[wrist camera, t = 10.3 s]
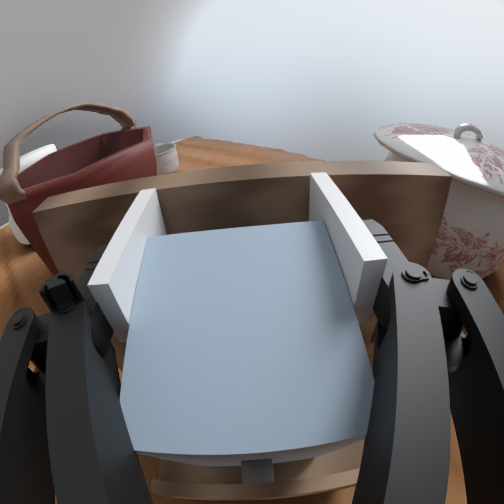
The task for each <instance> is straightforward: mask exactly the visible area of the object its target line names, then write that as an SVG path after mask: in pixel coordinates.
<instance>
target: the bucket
mask: <svg viewBox="0 0 504 504" xmlns="http://www.w3.org/2000/svg"><path fill="white" fill-rule="evenodd" d="M71 110H84V111H92V112H97V113H100V114H105V115H110V116H111V117H112V118H114V119H115V120H116V121H117V122H119V123H120V125H121V126H122V129H121V130H120V131H114V132H108V133H103V134H100V135H97V136H94V137H91V138H88V139H86V140H83V141H81V142H78V143H75V144H72V145H70V146H67V147H65V148H62V149H60V150H57V151H55V152H53V153H50V154H48V155H46V156H45V157H43V158H42V159H40V160H38V161H37V162H35V163H34V164H32V165H31V166H29V167H28V168H26V169H25V170H23V171H22V172H20V173H19V174H18V172H19V169H20V142H21V141H22V140H23V139H24V138H25V137H27V136H28V135H29V134H30V133H31V132H33V131H34V130H35V129H36V128H38V127H39V126H40V125H42V124H43V123H44V122H46V121H48V120H49V119H51V118H53V117H54V116H56V115H58V114H60V113H64V112H67V111H71ZM151 176H157V163H156V157H155V151H154V145H153V140H152V135H151V129H150V126H149V127H142V128H136V120H135V119H134V118H133V117H132V116H131V115H130V114H129V113H127V112H126V111H125V110H124V109H122V108H117V107H113V106H110V105H106V104H101V103H94V102H84V103H80V104H76V105H72V106H69V107H66V108H64V109H61V110H59V111H56V112H54V113H51V114H49V115H46V116H44V117H43V118H41V119H39V120H38V121H36V122H35V123H33V124H31V125H29V126H28V127H27V128H25V129H24V130H23V131H21V132H20V133H18V134H17V135H16V136H15V137H14V138H13V139H12V140H11V141H10V142H8V143H7V144H6V145H5V146H4V152H3V171H2V173H1V175H0V199H1V200H2V201H4V202H5V203H6V204H7V205H8V207H9V209H10V212H11V214H12V217H13V219H14V221H15V223H16V224H17V226H18V227H19V229H20V230H21V232H22V233H23V235H24V236H25V237H26V239H27V240H28V242H29V243H30V244H31V246H32V247H33V248H34V250H35V251H36V253H37V254H38V255H39V257H40V258H41V259H42V260H43V262H44V263H45V264H46V266H47V267H48V268H49V269H50V271H51V272H52V273H53V274H54V275H56V274H58V273H59V271H58V269H57V267H56V265H55V263H54V261H53V259H52V257H51V255H50V253H49V251H48V249H47V247H46V245H45V242H44V240H43V238H42V236H41V233H40V231H39V229H38V226H37V224H36V222H35V219H34V217H33V214H32V212H33V211H34V210H35V209H36V208H37V207H38V206H39V205H40V204H41V203H42V202H43V201H44V200H45V199H46V198H48V197H50V196H55V195H59V194H63V193H67V192H72V191H76V190H81V189H85V188H90V187H95V186H100V185H105V184H110V183H116V182H121V181H127V180H132V179H138V178H145V177H151Z"/></svg>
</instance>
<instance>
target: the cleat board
mask: <svg viewBox="0 0 504 504" xmlns="http://www.w3.org/2000/svg"><path fill="white" fill-rule="evenodd" d="M320 172H326V173H327V174H328V176H329V177H330V178H331V179H332V181H333V182H334V183H335V185H336V186H337V187H338V189H339V190H340V191H341V192H342V194H343V195H344V196H345V198H346V199H347V200H348V202H349V203H350V205H351V206H352V207H353V209H354V210H355V211H356V213H357V214H358V216H359V217H360V218H361V220H370V219H373V220H374V221H376V222H377V223H379V224H380V225H382V226H383V227H384V229H385V230H386V231H387V233H388V235H390V237H391V238H392V239H393V242H395V243H396V245H397V246H398V248H399V249H400V250H401V252H402V253H403V254H404V256H405V257H406V259H407V260H408V262H412V263H416V264H419V265H421V266H422V267H424V268H425V269H427V266H428V263H429V260H430V257H431V254H432V251H433V248H434V245H435V242H436V238H437V235H438V232H439V228H440V225H441V221H442V217H443V214H444V210H445V206H446V202H447V198H448V193H449V189H450V185H451V180H452V176H451V175H450V174H448V173H447V172H445V171H444V170H443V169H441V168H440V167H438V166H437V165H436V164H434V163H419V162H397V161H310V162H287V163H270V164H256V165H243V166H232V167H221V168H212V169H203V170H194V171H186V172H179V173H171V174H164V175H157V176H151V177H145V178H138V179H132V180H127V181H121V182H116V183H110V184H105V185H100V186H95V187H90V188H85V189H81V190H76V191H72V192H67V193H63V194H59V195H55V196H50V197H48V198H46V199H45V200H44V201H43V202H42V203H41V204H40V205H39V206H38V207H37V208H36V209H35V210H34V211H33V212H32V214H33V217H34V219H35V222H36V224H37V226H38V229H39V231H40V233H41V236H42V238H43V240H44V242H45V245H46V247H47V249H48V251H49V253H50V255H51V257H52V259H53V261H54V263H55V265H56V267H57V269H58V271H59V273H63V272H67V273H70V274H71V275H73V277H74V279H75V281H76V283H78V281H79V279H80V277H81V275H82V273H83V271H85V268H86V266H87V264H89V260H90V259H91V257H92V255H93V253H95V252H96V251H97V250H98V249H99V248H100V247H101V246H102V245H108V244H109V242H110V241H111V239H112V237H113V235H114V234H115V232H116V230H117V228H118V227H119V225H120V223H121V221H122V220H123V218H124V216H125V215H126V213H127V211H128V210H129V208H130V207H131V205H132V203H133V202H134V200H135V198H136V197H137V195H138V194H139V192H140V191H141V190H146V189H152V188H156V192H157V196H158V201H159V205H160V209H161V213H162V217H163V221H164V225H165V229H166V233H167V235H170V234H179V233H188V232H198V231H208V230H218V229H228V228H238V227H249V226H260V225H271V224H283V223H295V222H308V221H309V200H310V173H320ZM376 323H377V317H376V315H375V313H374V311H373V312H372V315H371V318H370V321H369V322H365V323H359V327H360V330H361V333H362V337H363V340H364V344H365V347H366V351H367V354H368V358H369V361H370V365H371V369H372V373H373V358H374V341H373V343H370V340H371V337H372V334H373V331H374V329H375V326H376ZM111 343H112V344H113V346H114V348H115V351H116V358H117V365H118V367H119V369H120V370H121V371H122V373H123V365H124V357H125V350H126V343H127V342H119V340H118V339H117V337H116V335H115V334H114V332H113V335H112V339H111ZM363 448H364V440H361V441H358V442H356V443H353V444H351V445H349V446H346V447H343V448H341V449H338V450H336V451H333V452H330V453H327V454H325V455H322V456H319V457H316V458H311V459H304V460H298V461H291V462H283V463H274V464H273V472H274V482H268V483H257V484H243V483H242V471H241V466H227V467H207V466H200V465H193V464H186V463H180V462H175V461H169V460H164V459H159V471H158V480H153V479H151V492H150V493H153V494H157V495H160V496H163V497H171V498H180V499H193V500H211V501H249V500H267V499H279V498H289V497H297V496H305V495H312V494H318V493H323V492H329V491H334V490H339V489H343V488H348V487H352V486H356V484H357V480H358V475H359V470H360V465H361V459H362V454H363Z"/></svg>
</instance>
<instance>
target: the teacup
mask: <svg viewBox="0 0 504 504" xmlns="http://www.w3.org/2000/svg"><path fill="white" fill-rule="evenodd" d="M175 147H176V145H175V144H174V143H164V144H161V143H159V144H157V145H155V146H154V151H155V157H156V163H157V175H164V174H171V173H175V172H176V170H177V169H178V157H177V152H176V148H175Z"/></svg>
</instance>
